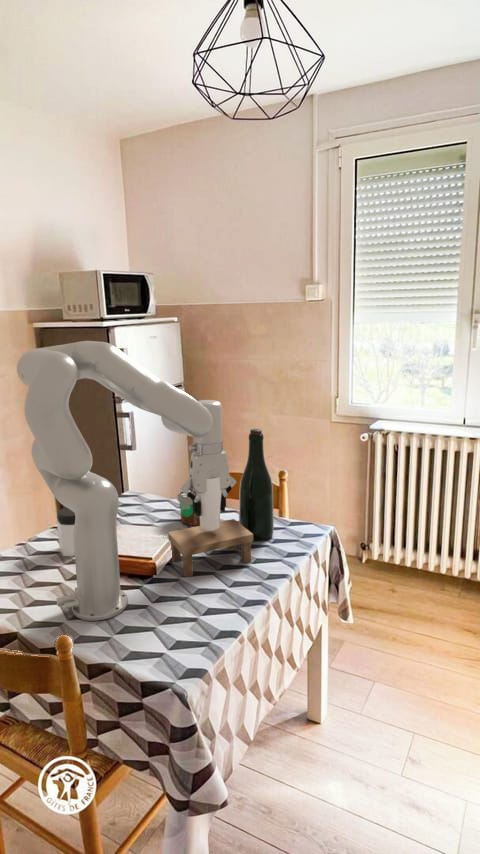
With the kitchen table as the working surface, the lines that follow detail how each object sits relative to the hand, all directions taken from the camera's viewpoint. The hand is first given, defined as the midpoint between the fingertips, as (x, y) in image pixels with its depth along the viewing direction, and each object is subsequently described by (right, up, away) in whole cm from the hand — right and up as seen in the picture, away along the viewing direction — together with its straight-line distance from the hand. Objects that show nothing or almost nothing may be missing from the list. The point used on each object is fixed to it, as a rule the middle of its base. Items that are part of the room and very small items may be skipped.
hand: (209, 511), depth 141 cm
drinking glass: (0, -5, +1) cm, 5 cm away
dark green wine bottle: (+13, -10, +19) cm, 26 cm away
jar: (-39, -13, +10) cm, 42 cm away
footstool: (0, -14, +3) cm, 14 cm away
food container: (-9, -8, +29) cm, 32 cm away
